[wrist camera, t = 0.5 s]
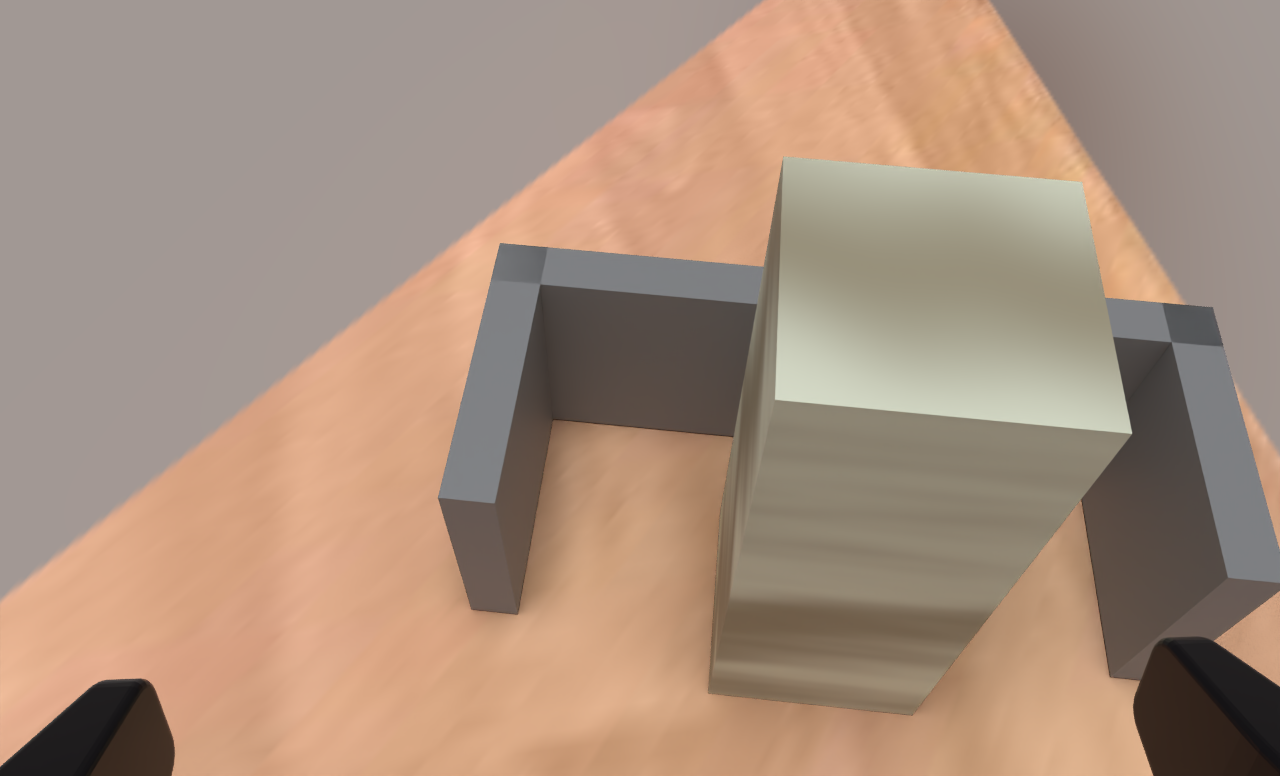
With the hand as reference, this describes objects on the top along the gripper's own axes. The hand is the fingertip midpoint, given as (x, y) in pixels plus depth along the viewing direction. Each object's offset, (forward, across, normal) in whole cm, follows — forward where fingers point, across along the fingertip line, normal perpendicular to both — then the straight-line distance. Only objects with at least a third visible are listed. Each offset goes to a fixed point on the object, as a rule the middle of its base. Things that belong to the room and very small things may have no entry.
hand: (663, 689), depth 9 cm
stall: (+15, -5, +11) cm, 19 cm away
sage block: (+13, -5, +12) cm, 18 cm away
